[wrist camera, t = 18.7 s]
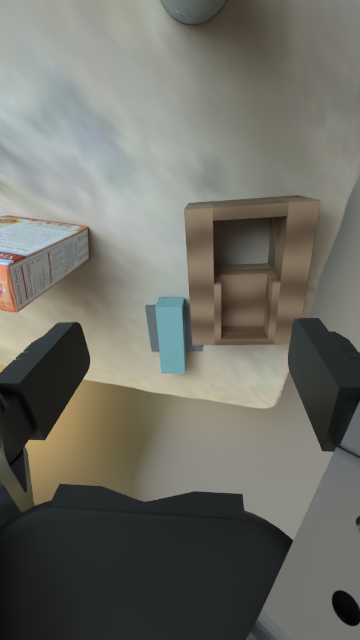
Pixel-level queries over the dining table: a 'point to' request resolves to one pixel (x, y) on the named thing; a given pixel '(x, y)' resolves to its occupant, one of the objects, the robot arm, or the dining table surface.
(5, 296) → the cracker box
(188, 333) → the grey mat
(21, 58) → the dining table surface
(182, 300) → the teal block
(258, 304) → the board
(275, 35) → the dining table surface
